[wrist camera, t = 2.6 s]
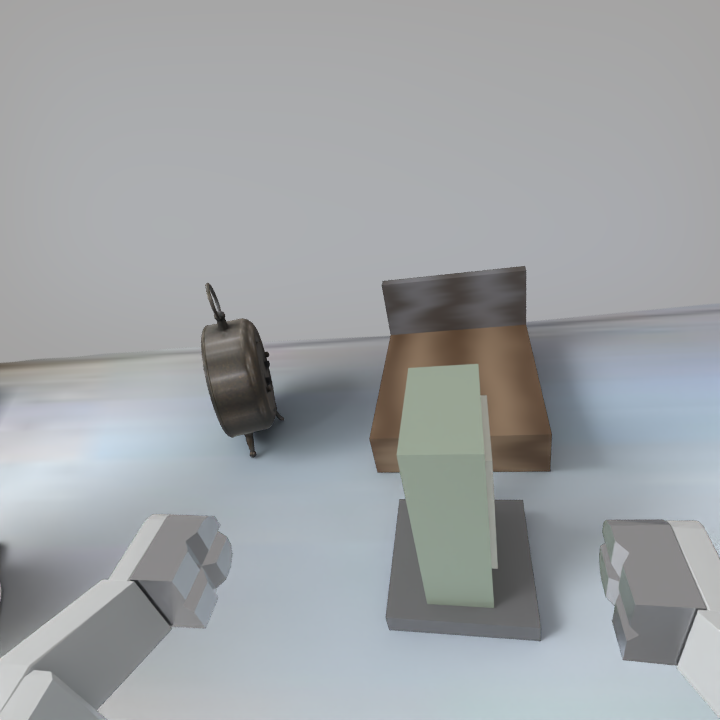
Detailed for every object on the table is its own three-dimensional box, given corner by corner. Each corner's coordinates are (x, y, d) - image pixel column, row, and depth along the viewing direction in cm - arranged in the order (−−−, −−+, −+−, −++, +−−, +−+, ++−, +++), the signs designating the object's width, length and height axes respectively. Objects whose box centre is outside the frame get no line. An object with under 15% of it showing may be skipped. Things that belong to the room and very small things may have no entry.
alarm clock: (238, 402, 54) (182, 270, 45) (285, 389, 54) (238, 255, 45) (237, 470, 45) (166, 321, 36) (293, 454, 45) (237, 302, 36)
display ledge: (377, 472, 41) (355, 380, 36) (397, 359, 55) (382, 281, 49) (550, 471, 38) (554, 369, 32) (524, 351, 51) (525, 266, 46)
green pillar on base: (389, 629, 30) (341, 471, 22) (402, 511, 37) (369, 360, 29) (540, 641, 28) (546, 470, 20) (522, 513, 35) (522, 351, 27)
